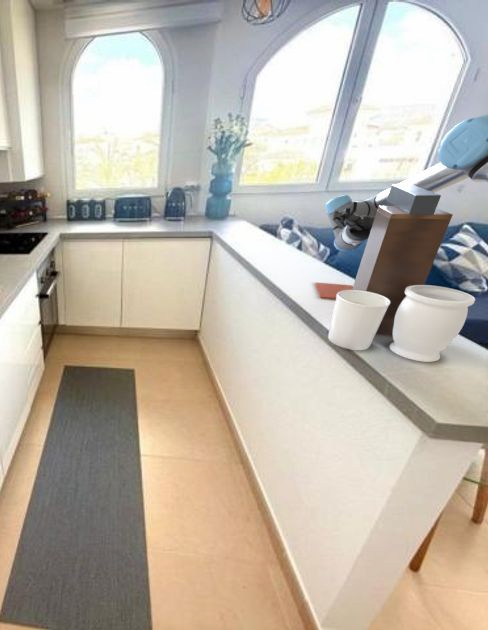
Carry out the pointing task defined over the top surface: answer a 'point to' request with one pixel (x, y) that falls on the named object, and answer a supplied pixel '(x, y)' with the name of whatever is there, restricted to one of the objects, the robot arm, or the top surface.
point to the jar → (428, 321)
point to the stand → (399, 255)
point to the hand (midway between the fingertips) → (385, 206)
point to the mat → (331, 290)
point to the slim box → (413, 199)
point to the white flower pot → (356, 318)
